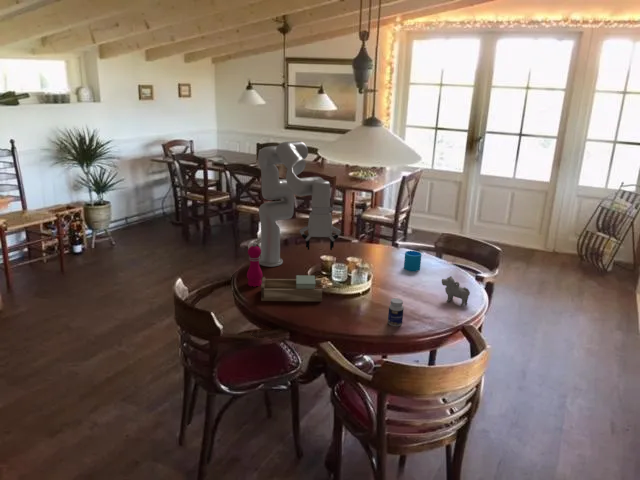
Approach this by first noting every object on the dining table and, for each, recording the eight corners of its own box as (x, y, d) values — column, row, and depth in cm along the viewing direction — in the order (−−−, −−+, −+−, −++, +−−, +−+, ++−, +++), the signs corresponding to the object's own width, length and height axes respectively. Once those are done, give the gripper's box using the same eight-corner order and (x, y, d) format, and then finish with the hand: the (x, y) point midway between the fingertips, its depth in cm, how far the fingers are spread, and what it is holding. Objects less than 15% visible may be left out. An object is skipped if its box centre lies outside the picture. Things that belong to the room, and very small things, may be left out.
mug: (420, 272, 263) (422, 256, 260) (404, 271, 263) (405, 255, 261) (418, 263, 274) (420, 248, 272) (402, 262, 275) (404, 247, 272)
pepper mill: (259, 288, 238) (259, 246, 231) (244, 286, 239) (243, 244, 233) (264, 282, 244) (264, 241, 238) (249, 280, 246) (249, 239, 240)
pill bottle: (390, 327, 206) (392, 304, 203) (385, 320, 211) (387, 297, 208) (404, 326, 207) (406, 303, 204) (399, 319, 212) (401, 297, 209)
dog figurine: (442, 295, 236) (444, 273, 233) (470, 303, 229) (472, 280, 226) (437, 299, 232) (439, 276, 229) (465, 307, 225) (468, 284, 222)
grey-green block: (296, 288, 235) (296, 275, 233) (314, 288, 236) (314, 275, 234) (296, 296, 227) (296, 283, 225) (315, 296, 227) (315, 283, 225)
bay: (262, 289, 236) (262, 276, 234) (320, 290, 238) (321, 277, 236) (261, 300, 225) (261, 287, 223) (321, 301, 226) (322, 288, 224)
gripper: (340, 208, 223) (339, 246, 228) (299, 207, 222) (299, 246, 227) (341, 212, 216) (340, 252, 221) (299, 212, 215) (299, 251, 220)
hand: (319, 249), depth 224 cm, fingers open, 9 cm apart
